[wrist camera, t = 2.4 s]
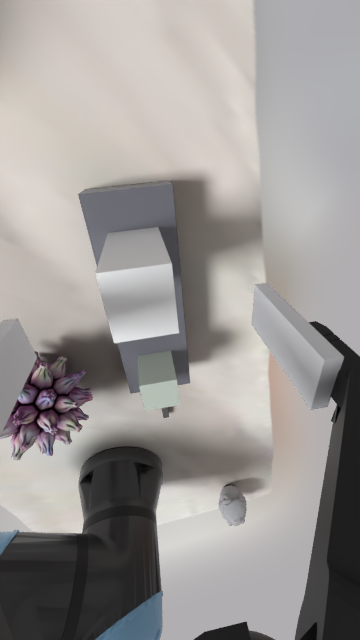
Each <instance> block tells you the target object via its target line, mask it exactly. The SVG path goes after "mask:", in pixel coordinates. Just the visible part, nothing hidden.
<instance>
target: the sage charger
mask: <svg viewBox="0 0 360 640" xmlns="http://www.w3.org/2000/svg"><path fill="white" fill-rule="evenodd" d="M138 369H139V388H140V392H141V397H142V401H143V405H144V409H145V411H150V410H155V409H161V408H166V407H172V406H177V405H180V402H179V394H178V386H177V378H176V373H175V369H174V364H173V359H172V354H171V351H166V352H160V353H153V354H147V355H141V356H138Z"/></svg>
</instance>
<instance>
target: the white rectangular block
mask: <svg viewBox="0 0 360 640" xmlns="http://www.w3.org/2000/svg"><path fill="white" fill-rule="evenodd" d="M95 275H96V278H97V282H98V286H99V289H100V293H101V297H102V301H103V304H104V308H105V312H106V315H107V319H108V323H109V326H110V330H111V334H112V337H113V341H114V343H120V342H126V341H132V340H139V339H145V338H151V337H158V336H164V335H170V334H177V333H179V327H178V318H177V308H176V299H175V289H174V279H173V270H172V262H171V260H170V257H169V255H168V252H167V249H166V247H165V244H164V241H163V239H162V236H161V233H160V231H159V228H158V227H154V228H145V229H137V230H129V231H121V232H113V233H108V235H107V238H106V241H105V244H104V247H103V250H102V254H101V257H100V260H99V263H98V266H97V270H96V273H95Z"/></svg>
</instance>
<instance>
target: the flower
mask: <svg viewBox="0 0 360 640" xmlns="http://www.w3.org/2000/svg"><path fill="white" fill-rule="evenodd" d="M35 354H36V356H37V359H36V361H35V363H34V366H33V368H32V370H31V372H30V374H29V376H28V378H27V380H26V383H25V385H24V387H23V389H22V391H21V393H20V395H19V397H18V400H17V402H16V404H15V406H14V408H13V410H12V412H11V415H10V417H9V419H8V421H7V423H6V425H5V427H4V429H3V432H2V434H1V436H0V439H2V438H7V437H9V436H11V435H12V434H13V436H12V439H11V444H12V449H13V453H12V456H11V459H13V460H14V459H15V460H20V458H21V456H22V455H23V453H24V452H25V451H26V450H28V449H29V448H30V447H31V446H32V445H33V444H34V442H35V443H36V445H37V446H38V447H39V448H40V452H41V454H43V453H45V454H46V455H47V456H49V455H51V456H52V455H53V444H54V441H55V439H57V440H60V441H63V442H64V443H65V444H66V445H68V444H70V443H71V442H72V440H71V438H70V431H73V430H74V431H76V432H80V430H81V429H82V427H83V426H82V425H81V424H79V422H78V420H87V419H88V418H89V416H88V415H86V414H84V413H83V412H82V410H81V409H80V408H79V407H80V406H81V405H83V404H84V403H85V402H87V401H91V400H92V398H93V397H92V394H90V393H91V392H90V391H91V390H90V388H89V389H82V388H79V387H76V386H77V385H78V383H79V382H80V380H81V378H82V376H84V375H85V374H86V371H85V370H82V371H80V372H77V373H71V374H68V375H66V376H64V375H65V372H66V369H65V364H66V361H67V358H66V357H63V356H62V357H60V356H59V357H58V359H57V360H56V361H55V362H53V363H51V364H49V365H47V363H45V362H42V360H41V359H40V358H39V356H38V352H36V351H35Z"/></svg>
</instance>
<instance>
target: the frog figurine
mask: <svg viewBox="0 0 360 640" xmlns="http://www.w3.org/2000/svg"><path fill="white" fill-rule="evenodd" d="M219 510H220V511H221V513H222V517H223V518H224V519H225V520H227V522H228V524H229V525H230V526H232V525H234V526H237V525H240V524H243V523H244V522H245V519H244V518H245V514H246V500H245V497H244V496H243V494H242V493H241V492H240V490H239V489H238V488H237V487H235V486H232V485H229V486H226V487H224V488H223V489H222V491H221V493H220V501H219Z"/></svg>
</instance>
